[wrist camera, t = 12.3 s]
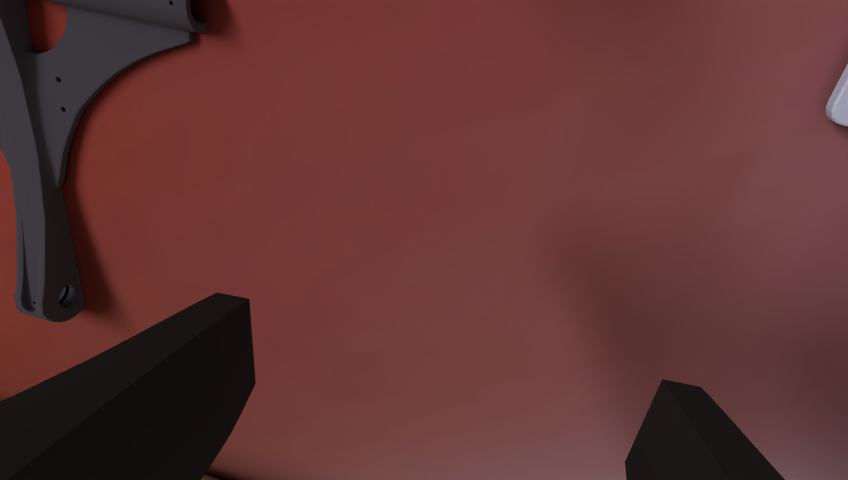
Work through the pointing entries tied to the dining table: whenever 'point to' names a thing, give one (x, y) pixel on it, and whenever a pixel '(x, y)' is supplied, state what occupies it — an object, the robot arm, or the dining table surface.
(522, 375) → the dining table surface
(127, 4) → the bracket
